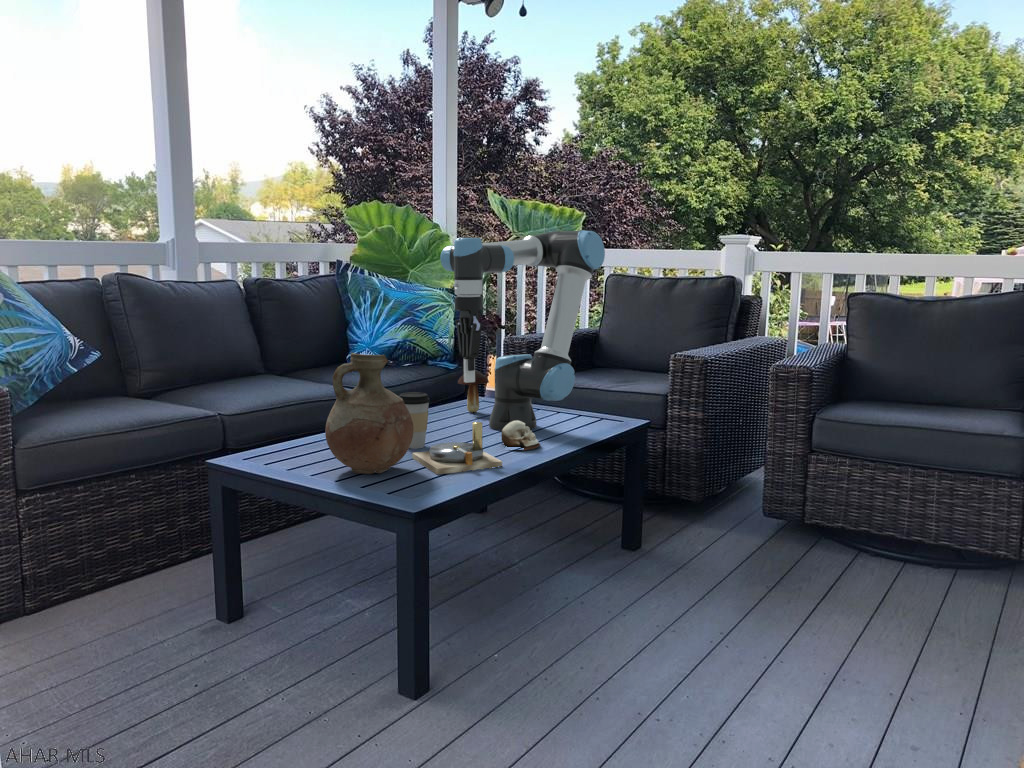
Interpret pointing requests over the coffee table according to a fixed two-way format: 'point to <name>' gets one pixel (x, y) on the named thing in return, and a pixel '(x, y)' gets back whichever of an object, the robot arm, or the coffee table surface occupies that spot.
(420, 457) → the base plate
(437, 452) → the turntable
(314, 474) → the coffee table surface
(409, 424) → the jug
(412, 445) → the coffee cup
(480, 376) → the decorative mushroom
